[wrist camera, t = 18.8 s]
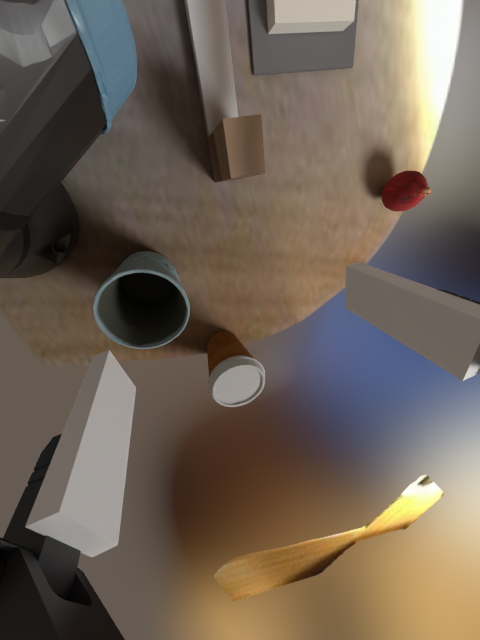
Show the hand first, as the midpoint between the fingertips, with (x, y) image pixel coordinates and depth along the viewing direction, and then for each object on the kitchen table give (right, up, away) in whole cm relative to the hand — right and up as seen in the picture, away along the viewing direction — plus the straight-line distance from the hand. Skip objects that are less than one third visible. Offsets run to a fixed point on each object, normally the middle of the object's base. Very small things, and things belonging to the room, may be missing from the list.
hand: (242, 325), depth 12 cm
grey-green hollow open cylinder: (-14, +7, +24) cm, 28 cm away
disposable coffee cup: (-4, -5, +33) cm, 34 cm away
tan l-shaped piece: (-3, +28, +15) cm, 32 cm away
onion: (+25, +23, +28) cm, 45 cm away
